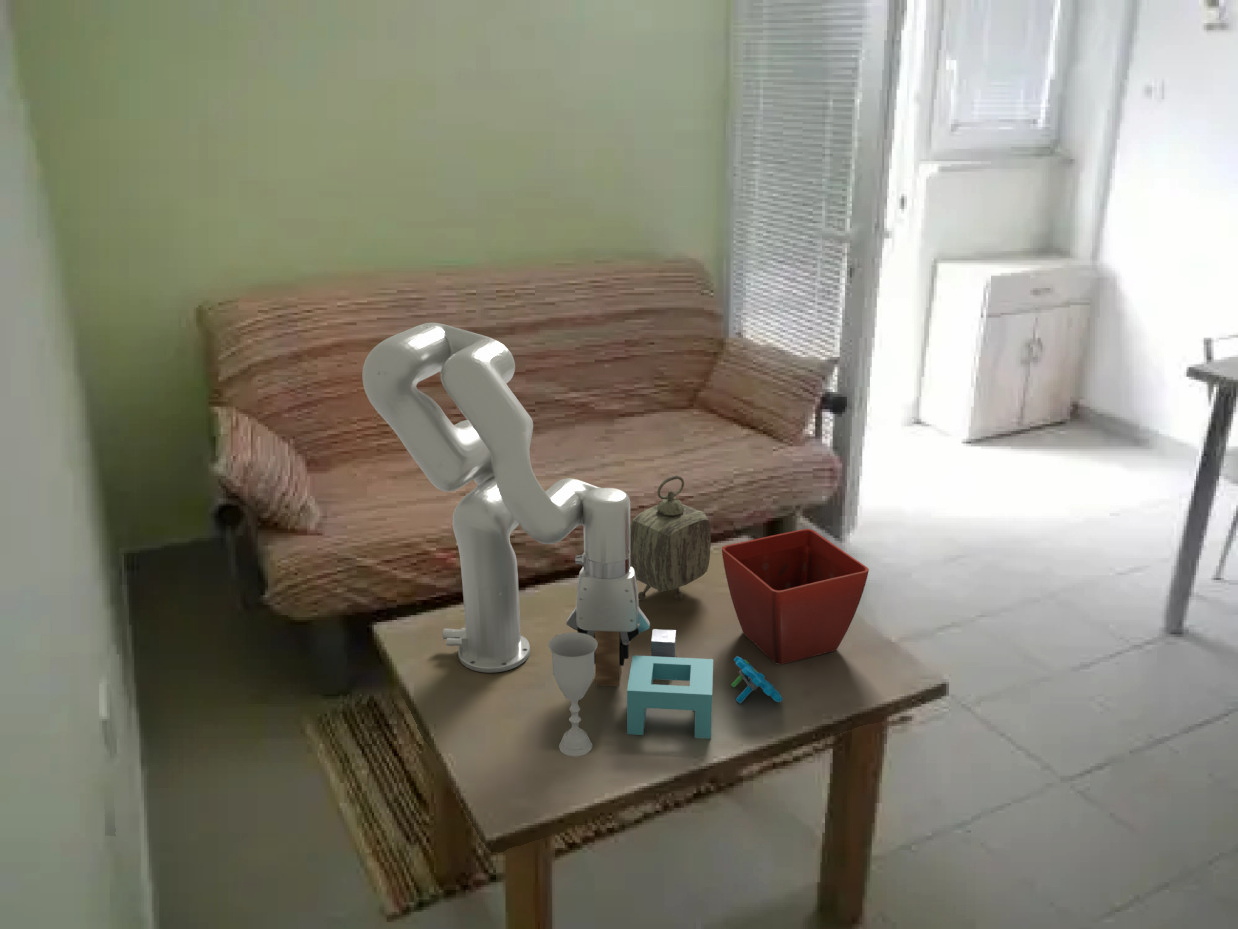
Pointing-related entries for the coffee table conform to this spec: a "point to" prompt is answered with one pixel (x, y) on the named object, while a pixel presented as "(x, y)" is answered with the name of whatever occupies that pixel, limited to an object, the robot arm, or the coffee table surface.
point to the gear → (753, 681)
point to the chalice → (573, 682)
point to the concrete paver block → (663, 643)
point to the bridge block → (670, 690)
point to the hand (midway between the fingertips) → (608, 659)
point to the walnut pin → (608, 658)
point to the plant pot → (793, 593)
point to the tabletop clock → (669, 544)
